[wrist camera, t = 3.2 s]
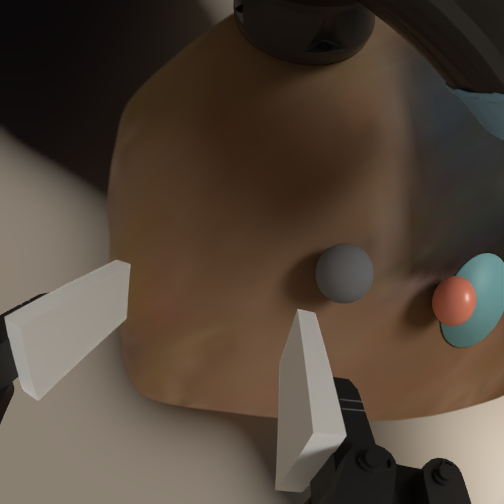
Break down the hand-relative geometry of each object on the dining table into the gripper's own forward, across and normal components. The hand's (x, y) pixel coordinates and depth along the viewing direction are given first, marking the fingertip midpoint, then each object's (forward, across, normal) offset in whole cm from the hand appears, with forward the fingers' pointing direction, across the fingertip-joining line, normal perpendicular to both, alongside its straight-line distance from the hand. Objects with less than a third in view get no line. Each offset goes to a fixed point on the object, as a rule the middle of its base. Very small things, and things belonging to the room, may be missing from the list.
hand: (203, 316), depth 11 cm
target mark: (+17, +30, 0) cm, 35 cm away
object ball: (+14, +24, 0) cm, 28 cm away
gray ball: (+14, +10, 0) cm, 17 cm away
